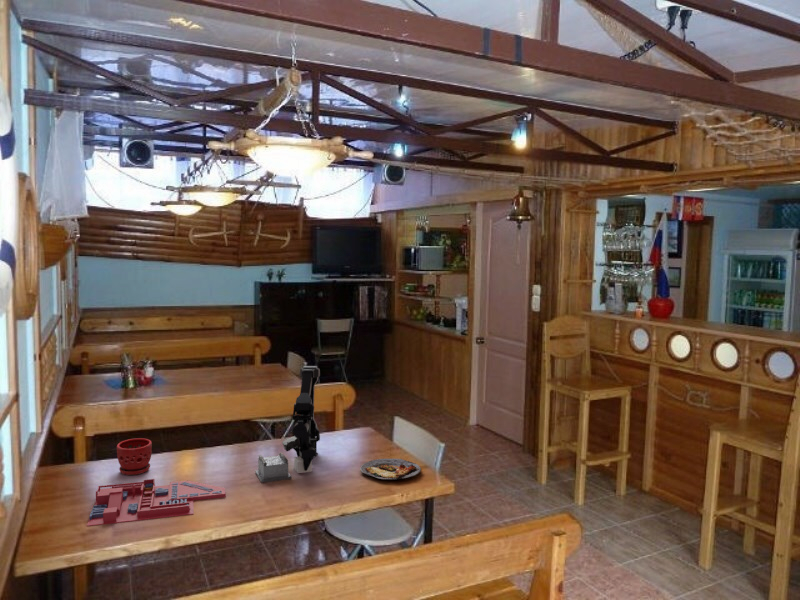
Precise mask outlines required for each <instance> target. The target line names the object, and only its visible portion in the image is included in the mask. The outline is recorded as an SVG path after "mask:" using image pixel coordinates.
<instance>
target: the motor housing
mask: <svg viewBox="0 0 800 600" xmlns="http://www.w3.org/2000/svg"><path fill="white" fill-rule="evenodd" d="M257 460H258V461H257V467H258V468H257V469H255V470H254V472H255V474H256V476H257V478H258V480H259V481H260V483H261V484H262V483H263V484H264V483H270V482H278V481H279V482H280V481H285V480H292V475H291V474H290V472H289V460H288V459H287V457H286V455H284V453H283V452H279V453H278V455H275V456H274V455H273V456H270V455H268V456H265V457H263V455H262V454H259V455H258V459H257Z"/></svg>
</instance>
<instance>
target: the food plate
mask: <svg viewBox="0 0 800 600" xmlns="http://www.w3.org/2000/svg"><path fill="white" fill-rule="evenodd" d="M359 469H360V471H361V474H362V473H363V474H365V475H367V476H371V477H374V478H376V479H380V480H384V481H385V480H386V481H391V480H392V481H396V480H397V481H398V480H405V479H407V478H411V477H414V476H417V475H419V474H420V472H421V471H422V468H421V466H420V465H418V464H417V463H416V462H412V461H409V460H407V459H402V458H378V459H372V460H369V461H367V462H364V463H363V464H362V465H361V466H360V468H359Z"/></svg>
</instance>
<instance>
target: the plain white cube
mask: <svg viewBox="0 0 800 600" xmlns="http://www.w3.org/2000/svg"><path fill="white" fill-rule="evenodd" d="M293 459H294V461H293V468H294V471H295V472H296V473H297V474H304V473H310V472H313V460H312V461H311V463H310V465H309V467H308V469H307V471H305V470H304V466H303V459H302V458H301V457H297V456H294V457H293Z"/></svg>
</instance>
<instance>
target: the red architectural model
mask: <svg viewBox="0 0 800 600" xmlns="http://www.w3.org/2000/svg"><path fill="white" fill-rule="evenodd" d="M226 494H227V493H226V488H225V487H223V486H217V485H211V484H207V483H202V482H196V481H193V480H179V481H178V480H177V481H170V482H169V484H167V485H156V482H155V478H151V479H143V481H137V482H128V483H127V482H126V483H119V484H117V483H115V484H107V485H106V484H105V485H98V486H97V490H96V491H95V503H94V504H93V507H92V509H91V511H90V514H89V518H88V522H87V524H86V527H94V526H101V525H110V524H111V525H113V524H120V523H130V522H139V521H146V520H147V521H148V520H155V519H163V518H164V519H165V518H166V519H167V518H173V517H174V518H175V517H182V516H190V515H191V516H192V515H194V506H195V505H194V501H200V500H201V501H203V500H211V499H221V498H226Z"/></svg>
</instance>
